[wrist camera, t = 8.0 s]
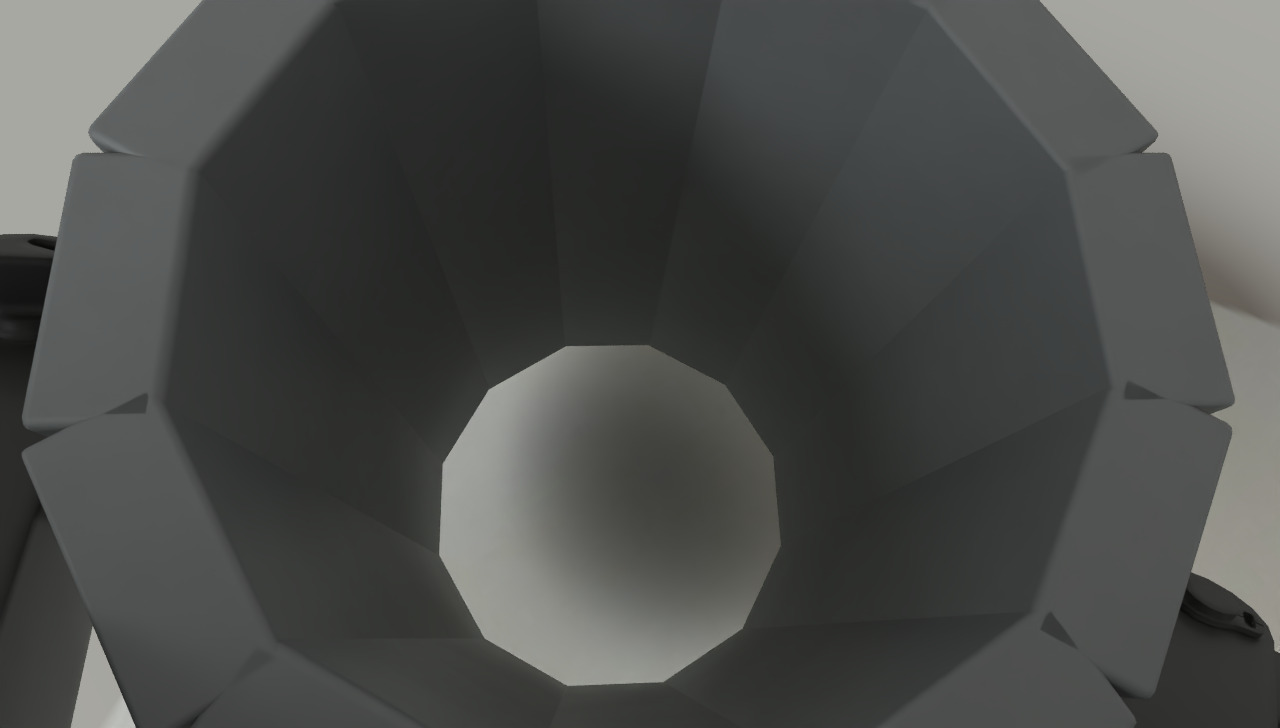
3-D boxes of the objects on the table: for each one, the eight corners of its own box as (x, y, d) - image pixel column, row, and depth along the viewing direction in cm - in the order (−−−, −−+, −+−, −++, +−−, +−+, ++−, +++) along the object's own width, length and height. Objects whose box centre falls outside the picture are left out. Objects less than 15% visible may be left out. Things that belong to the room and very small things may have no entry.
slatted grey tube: (304, 596, 17) (-263, 509, 6) (533, 240, 20) (459, -296, 8) (706, 828, 16) (986, 1281, 5) (887, 423, 19) (1337, 98, 8)
